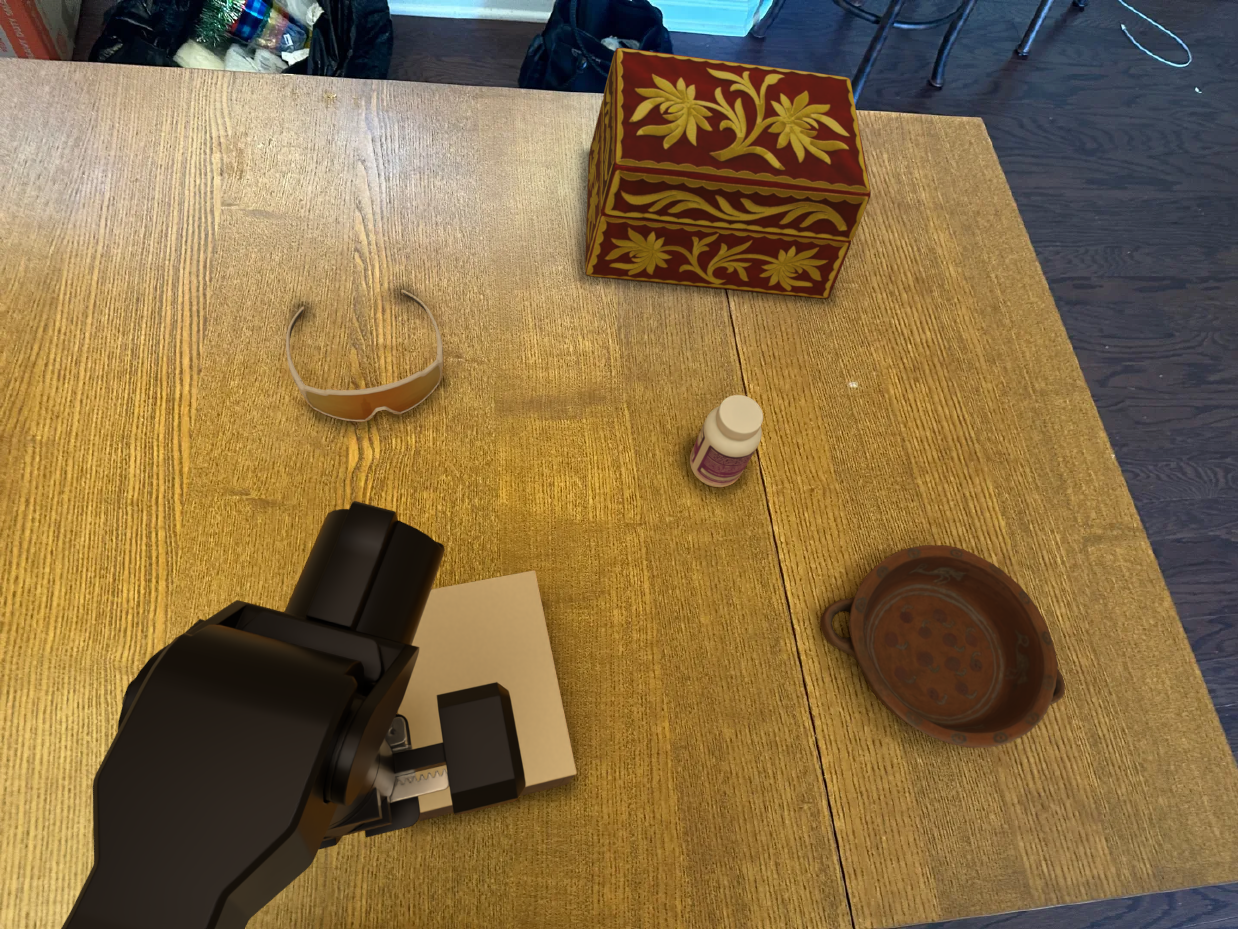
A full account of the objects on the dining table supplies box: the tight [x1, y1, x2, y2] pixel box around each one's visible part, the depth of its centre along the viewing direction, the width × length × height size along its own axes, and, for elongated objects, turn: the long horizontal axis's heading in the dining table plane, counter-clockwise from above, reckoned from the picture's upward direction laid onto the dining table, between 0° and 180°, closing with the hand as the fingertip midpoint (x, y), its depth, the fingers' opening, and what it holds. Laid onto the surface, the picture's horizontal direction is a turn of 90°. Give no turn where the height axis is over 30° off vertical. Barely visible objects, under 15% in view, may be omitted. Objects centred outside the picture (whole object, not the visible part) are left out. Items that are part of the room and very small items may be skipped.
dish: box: [819, 544, 1066, 749], centre depth 71 cm, size 18×22×5 cm
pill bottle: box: [689, 394, 764, 488], centre depth 75 cm, size 5×5×10 cm
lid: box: [397, 569, 577, 813], centre depth 60 cm, size 15×12×1 cm
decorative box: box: [584, 47, 872, 299], centre depth 87 cm, size 28×19×15 cm
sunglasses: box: [285, 289, 444, 423], centre depth 78 cm, size 14×15×5 cm
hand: (363, 794), depth 50 cm, fingers closed
